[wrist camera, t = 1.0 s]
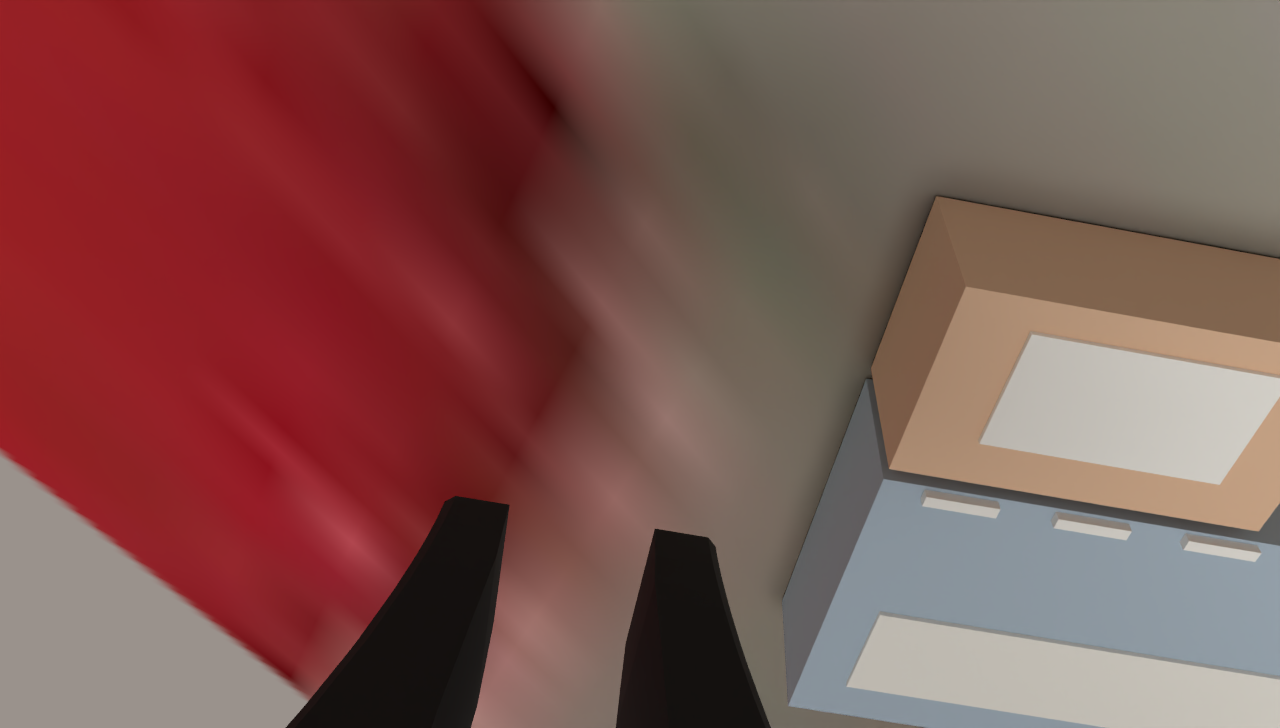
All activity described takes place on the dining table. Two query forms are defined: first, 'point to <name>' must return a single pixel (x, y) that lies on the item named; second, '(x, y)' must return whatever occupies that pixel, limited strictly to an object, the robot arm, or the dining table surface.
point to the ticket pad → (1024, 606)
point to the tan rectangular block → (1085, 366)
